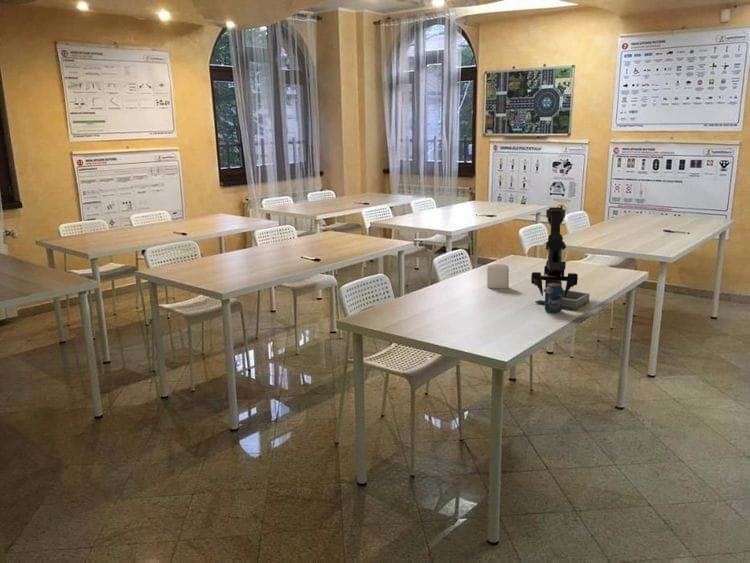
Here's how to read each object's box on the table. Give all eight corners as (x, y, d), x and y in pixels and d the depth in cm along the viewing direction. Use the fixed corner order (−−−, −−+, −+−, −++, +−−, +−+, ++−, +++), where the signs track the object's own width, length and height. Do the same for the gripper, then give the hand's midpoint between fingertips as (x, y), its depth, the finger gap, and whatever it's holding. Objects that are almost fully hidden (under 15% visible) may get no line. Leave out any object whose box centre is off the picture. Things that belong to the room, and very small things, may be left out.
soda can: (549, 314, 262) (550, 286, 259) (541, 310, 269) (542, 282, 266) (564, 313, 263) (565, 285, 260) (556, 308, 270) (557, 281, 267)
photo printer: (486, 288, 305) (486, 263, 302) (487, 286, 309) (488, 261, 306) (507, 289, 302) (508, 264, 299) (509, 287, 306) (509, 262, 303)
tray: (544, 305, 276) (545, 296, 275) (558, 297, 286) (559, 289, 285) (575, 310, 267) (576, 301, 266) (589, 302, 277) (589, 293, 276)
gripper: (532, 253, 267) (530, 285, 259) (578, 254, 262) (578, 287, 254) (532, 267, 276) (530, 298, 268) (577, 268, 271) (576, 300, 264)
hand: (553, 296), depth 263 cm, fingers open, 9 cm apart
